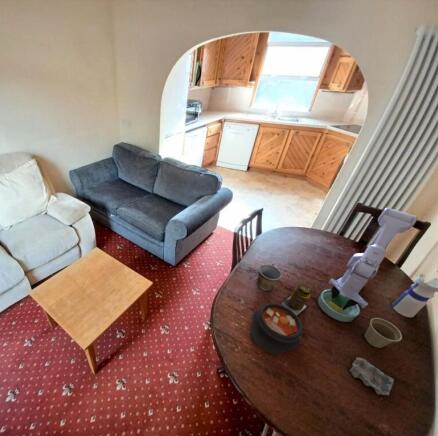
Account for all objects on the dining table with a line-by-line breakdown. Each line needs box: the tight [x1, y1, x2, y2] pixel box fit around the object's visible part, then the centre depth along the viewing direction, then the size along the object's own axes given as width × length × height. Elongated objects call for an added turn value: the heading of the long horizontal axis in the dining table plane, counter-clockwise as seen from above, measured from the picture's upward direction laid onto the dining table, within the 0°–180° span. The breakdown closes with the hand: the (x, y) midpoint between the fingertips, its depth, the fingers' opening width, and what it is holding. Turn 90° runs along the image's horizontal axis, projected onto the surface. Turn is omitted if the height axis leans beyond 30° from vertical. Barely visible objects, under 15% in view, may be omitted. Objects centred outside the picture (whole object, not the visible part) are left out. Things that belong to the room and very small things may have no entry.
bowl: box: [317, 288, 361, 323], centre depth 107 cm, size 14×14×4 cm
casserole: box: [249, 302, 304, 356], centre depth 97 cm, size 25×19×8 cm
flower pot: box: [363, 317, 403, 349], centre depth 93 cm, size 9×9×9 cm
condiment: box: [281, 283, 312, 316], centre depth 106 cm, size 7×8×12 cm
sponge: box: [328, 295, 349, 312], centre depth 106 cm, size 7×4×4 cm, turn 114°
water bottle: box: [391, 270, 438, 318], centre depth 100 cm, size 8×9×25 cm
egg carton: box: [349, 357, 395, 396], centre depth 84 cm, size 11×8×4 cm
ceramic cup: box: [256, 263, 283, 291], centre depth 117 cm, size 13×10×10 cm
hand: (338, 304), depth 106 cm, fingers closed on sponge, 4 cm apart
